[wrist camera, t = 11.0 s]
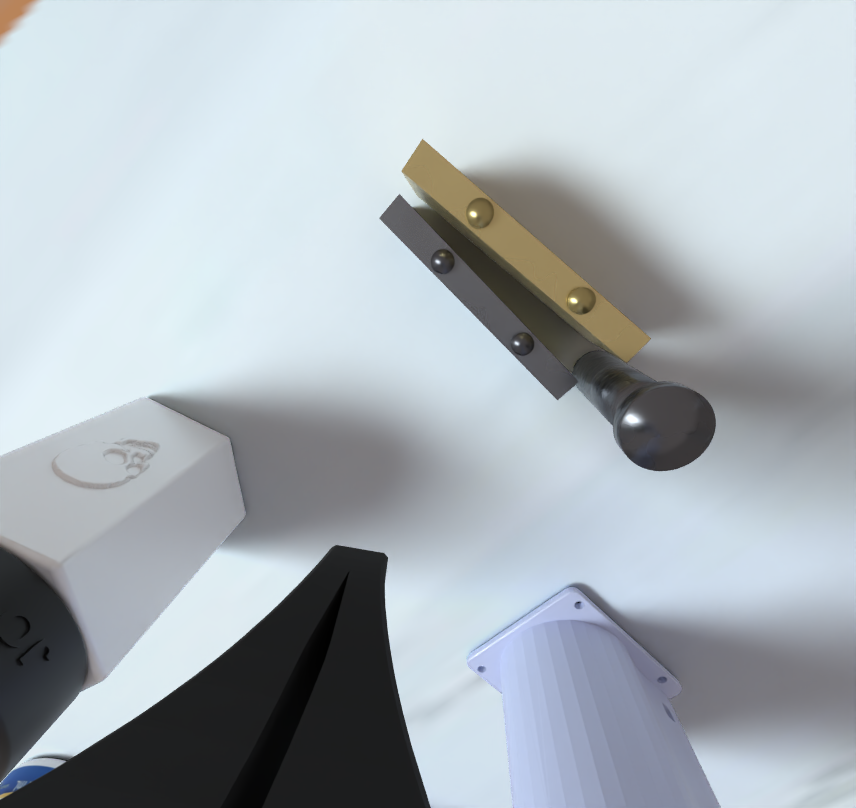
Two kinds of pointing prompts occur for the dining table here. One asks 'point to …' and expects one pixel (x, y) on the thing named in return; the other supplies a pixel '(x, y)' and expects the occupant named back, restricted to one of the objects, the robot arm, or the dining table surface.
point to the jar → (99, 550)
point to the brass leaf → (520, 253)
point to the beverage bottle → (27, 774)
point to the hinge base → (593, 373)
